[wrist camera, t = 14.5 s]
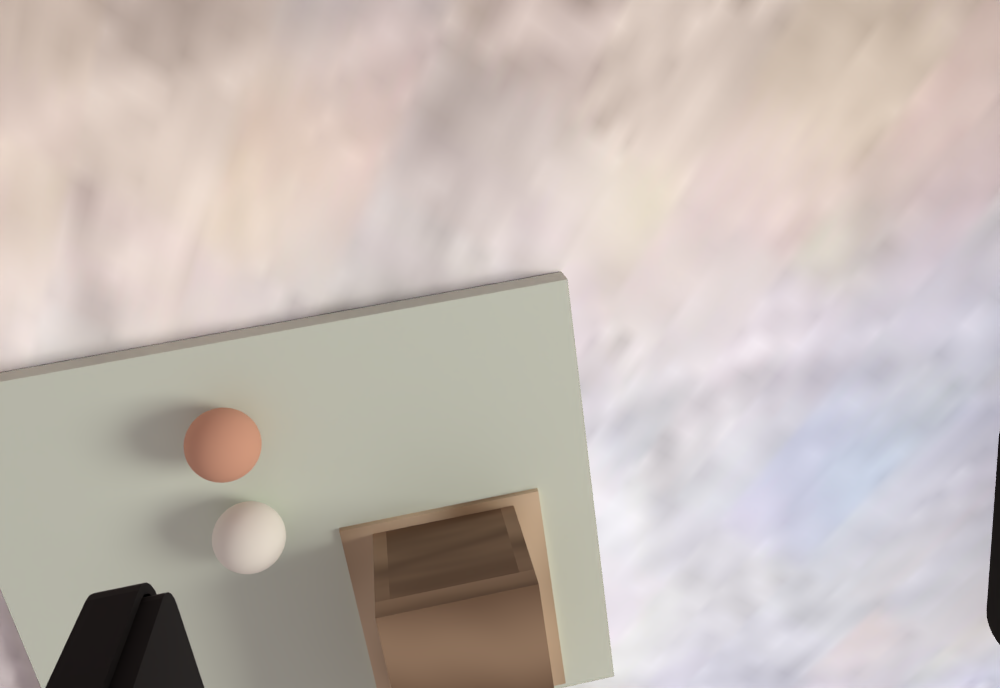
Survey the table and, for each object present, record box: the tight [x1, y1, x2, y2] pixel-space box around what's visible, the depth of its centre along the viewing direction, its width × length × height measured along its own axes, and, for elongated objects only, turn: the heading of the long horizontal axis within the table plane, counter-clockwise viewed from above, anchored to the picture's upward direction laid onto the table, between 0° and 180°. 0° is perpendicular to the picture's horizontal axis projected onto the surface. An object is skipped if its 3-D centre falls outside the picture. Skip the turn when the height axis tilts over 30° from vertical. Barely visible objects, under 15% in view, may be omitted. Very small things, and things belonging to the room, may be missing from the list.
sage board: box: [0, 272, 614, 688], centre depth 41 cm, size 26×21×1 cm
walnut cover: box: [373, 506, 554, 688], centre depth 39 cm, size 10×6×6 cm, turn 8°
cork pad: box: [339, 488, 566, 688], centre depth 42 cm, size 9×11×1 cm
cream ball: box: [212, 501, 286, 574], centre depth 38 cm, size 3×3×3 cm
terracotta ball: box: [184, 408, 262, 483], centre depth 36 cm, size 3×3×3 cm
